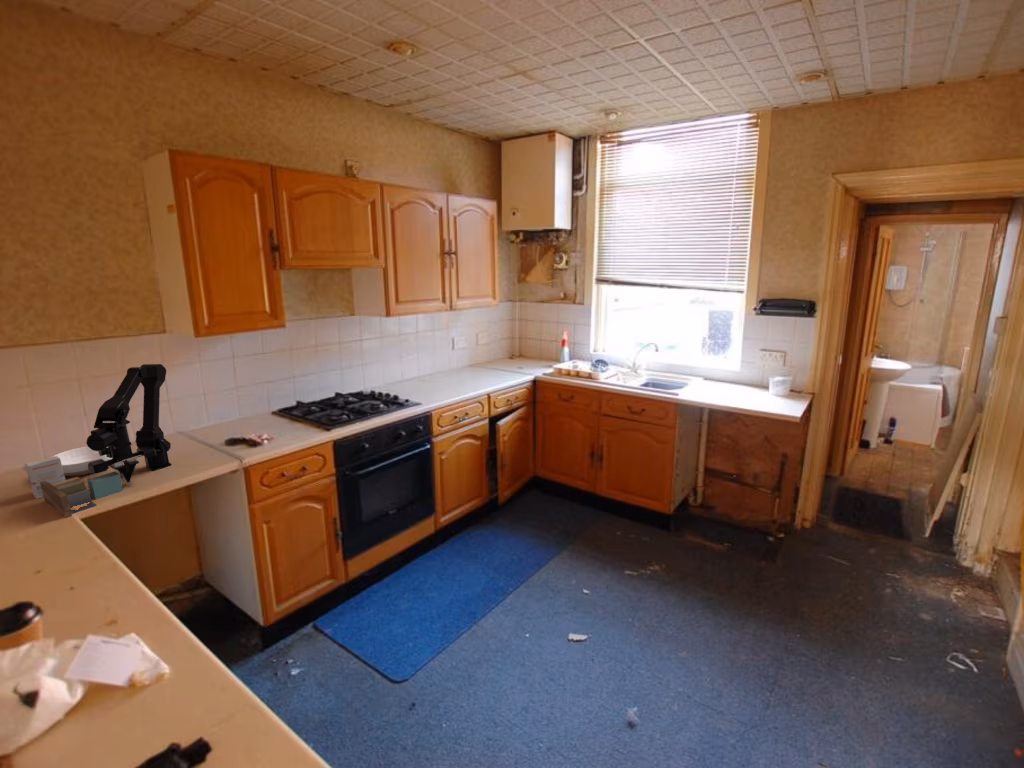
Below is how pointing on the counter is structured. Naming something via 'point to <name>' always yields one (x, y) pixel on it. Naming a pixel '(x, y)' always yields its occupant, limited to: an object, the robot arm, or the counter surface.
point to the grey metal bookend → (80, 500)
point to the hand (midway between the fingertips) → (128, 481)
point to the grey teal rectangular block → (105, 484)
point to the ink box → (44, 473)
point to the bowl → (79, 460)
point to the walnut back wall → (56, 498)
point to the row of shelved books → (70, 486)
